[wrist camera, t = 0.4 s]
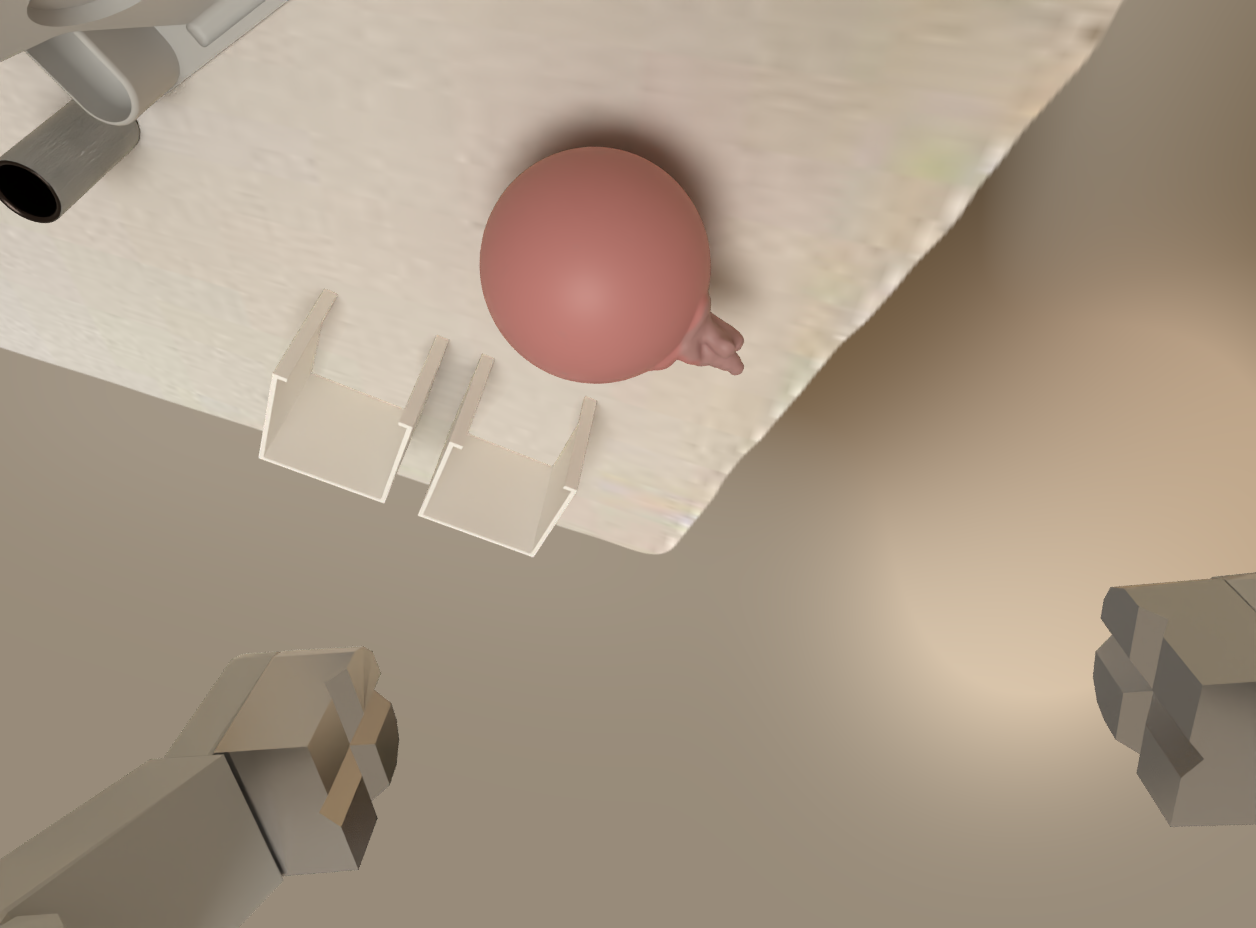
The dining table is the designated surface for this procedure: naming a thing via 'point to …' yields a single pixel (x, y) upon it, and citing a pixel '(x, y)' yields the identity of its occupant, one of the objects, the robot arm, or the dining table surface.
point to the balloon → (602, 270)
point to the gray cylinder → (61, 162)
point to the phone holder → (124, 45)
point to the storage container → (380, 434)
